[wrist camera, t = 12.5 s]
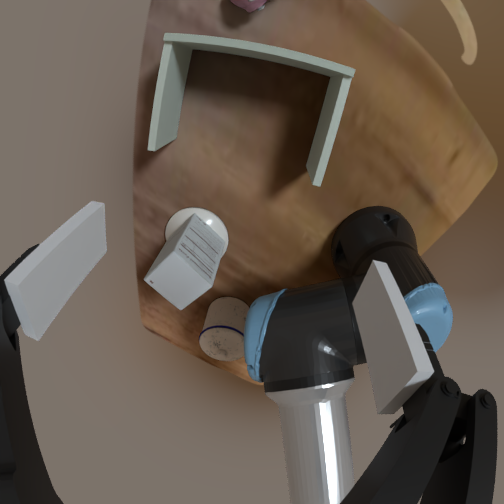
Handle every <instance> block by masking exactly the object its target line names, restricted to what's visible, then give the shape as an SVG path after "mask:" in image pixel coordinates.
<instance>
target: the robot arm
mask: <svg viewBox="0 0 504 504" xmlns="http://www.w3.org/2000/svg"><path fill="white" fill-rule="evenodd" d="M106 252H107V248H106V230H105V204H104V203H100V202H94V201H91V202H90V203H89V204H87V205H86V206H85V207H84V208H82V209H81V210H80V211H79V212H77V213H76V214H75V215H74V216H73V217H71V218H70V219H69V220H68V221H67V222H65V223H64V224H63V225H62V226H61V227H59V228H58V229H57V230H56V231H55V232H54V233H53V234H52V235H51V236H49V237H48V238H47V239H46V240H45V241H44V242H42V243H41V244H37V245H35V246H33V247H31V248H29V249H28V250H27V251H26V252H25V253H23V254H22V255H21V257H20V258H18V259H17V260H16V261H15V263H13V264H12V265H11V266H10V267H9V268H8V269H7V270H6V271H5V272H4V273H3V274H2V275H1V276H0V504H63V502H62V501H61V499H60V498H59V497H58V496H57V494H56V492H55V490H54V489H53V486H52V484H51V481H50V478H49V475H48V472H47V470H46V467H45V464H44V461H43V458H42V455H41V452H40V448H39V445H38V442H37V438H36V434H35V430H34V427H33V422H32V418H31V414H30V410H29V405H28V400H27V395H26V390H25V384H24V378H23V371H22V364H21V356H20V346H19V336H18V333H17V331H16V330H17V328H18V327H19V326H20V324H21V327H22V329H23V331H24V334H25V335H27V336H29V337H31V338H33V339H35V340H37V341H39V340H40V338H41V337H42V335H43V334H44V332H45V331H46V329H47V328H48V326H49V325H50V324H51V322H52V321H53V320H54V318H55V317H56V315H57V314H58V313H59V311H60V310H61V309H62V307H63V306H64V304H65V303H66V302H67V300H68V299H69V298H70V296H71V295H72V294H73V293H74V291H75V290H76V289H77V287H78V286H79V285H80V283H81V282H82V281H83V280H84V278H85V277H86V276H87V275H88V273H89V272H90V271H91V270H92V269H93V267H94V266H95V265H96V264H97V262H98V261H99V260H100V259H101V258H102V256H103V255H104V254H105V253H106ZM331 254H332V259H333V263H334V266H335V268H336V271H337V272H338V274H339V275H340V277H341V278H340V279H335V280H331V281H326V282H322V283H317V284H313V285H308V286H303V287H299V288H294V289H289V290H288V289H282V290H281V291H279V292H275V293H272V294H268V295H264V296H261V297H259V298H257V299H256V300H255V301H254V302H253V303H252V305H251V306H250V309H249V311H248V313H247V316H246V321H245V328H244V356H245V362H246V364H247V370H248V373H249V375H250V377H251V378H252V379H253V380H255V381H258V382H264V388H265V394H266V396H268V397H269V398H271V399H272V400H273V401H275V402H276V403H277V405H278V406H279V413H280V421H281V429H282V437H283V445H284V453H285V461H286V470H287V478H288V486H289V495H290V503H291V504H417V503H418V501H419V500H420V498H421V496H422V499H421V502H420V504H492V499H493V492H494V484H495V473H496V460H497V406H496V401H495V399H494V397H493V395H492V394H491V393H490V392H488V391H487V390H484V389H480V390H478V391H477V392H476V393H475V394H474V395H473V396H470V395H467V394H464V393H461V390H460V388H459V386H458V384H457V383H456V382H455V381H454V380H453V379H451V378H449V377H445V376H444V374H443V371H442V369H441V366H440V364H439V361H438V359H437V356H436V354H435V352H436V351H437V350H438V349H439V348H440V347H441V346H442V345H443V343H444V342H445V340H446V339H447V337H448V335H449V333H450V330H451V326H452V320H453V315H452V310H451V307H450V304H449V302H448V300H447V298H446V296H445V292H444V290H443V288H442V287H441V286H440V285H439V284H438V282H437V281H436V280H435V278H434V276H433V275H432V273H431V272H430V271H429V269H428V267H427V266H426V264H425V263H424V261H423V260H422V259H421V257H420V256H419V254H418V250H417V243H416V237H415V234H414V231H413V229H412V227H411V225H410V224H409V223H408V221H407V220H406V219H405V218H404V217H403V215H401V214H400V213H399V212H397V211H396V210H394V209H391V208H388V207H383V206H372V207H367V208H364V209H361V210H359V211H357V212H355V213H353V214H352V215H350V216H349V217H348V218H346V219H345V220H344V221H343V222H342V224H341V225H340V226H339V227H338V229H337V231H336V233H335V235H334V237H333V241H332V246H331ZM363 363H367V364H368V369H369V373H370V378H371V382H372V387H373V392H374V397H375V402H376V408H377V413H378V414H394V413H395V412H396V411H397V410H398V409H399V408H400V407H402V406H403V410H404V414H403V415H402V416H401V417H400V418H398V419H397V420H396V421H395V422H394V423H393V424H392V425H391V426H390V428H392V427H393V426H394V428H393V430H392V431H391V433H390V434H389V436H388V438H387V439H386V441H385V442H384V444H383V446H382V447H381V449H380V450H379V452H378V453H377V455H376V456H375V458H374V459H373V461H372V462H371V463H370V465H369V466H368V468H367V469H366V470H365V472H364V473H363V475H362V476H361V477H360V479H359V480H358V481H357V483H356V484H355V485H354V473H353V461H352V451H351V441H350V432H349V423H348V416H347V415H348V414H347V407H346V400H345V394H346V391H347V390H348V389H349V387H350V386H351V384H352V383H353V381H354V380H355V377H354V371H353V366H354V365H358V364H363ZM465 437H466V440H465V444H463V440H464V438H465ZM422 494H423V495H422Z"/></svg>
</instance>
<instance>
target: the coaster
mask: <svg viewBox="0 0 504 504" xmlns="http://www.w3.org/2000/svg"><path fill="white" fill-rule="evenodd" d="M194 213H196V214H197V215H198V216H199V217H200V218H201V219H202V220H203V221H204V222H206V223H207V224H208V225H209V226H210V227H211V228H212V229H213V230H214V231H215V232H216V233H217V234H218V235H219V236H220V237H221V238H222V239H223V240H224V241H225V245H224V249H223V252H222V256H223V255H224V253H225V252H226V249H227V246H228V240H229V238H228V231H227V229H226V226H225V225H224V223H223V222H222V220H221V219H220V218H219V217H218V216H217V215H216V214H214V213H213V212H211V211H209V210H206V209H204V208H199V207H189V208H184V209H182V210H180V211H178V212H176V213H175V214H174V215H173V216H172V217H171V219H170V220H169V222H168V224H167V226H166V232H165V236H166V241H167V240H168V238H169V237H170V236H171V235H172V234H173V233H174V232H175V231H176V230H177V229H178V228H179V227H180V226H181V225H182V224H183V223H184V222H185V221H186V220H187V219H188V218H189V217H190V216H191V215H193V214H194ZM222 256H221V257H222Z"/></svg>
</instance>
